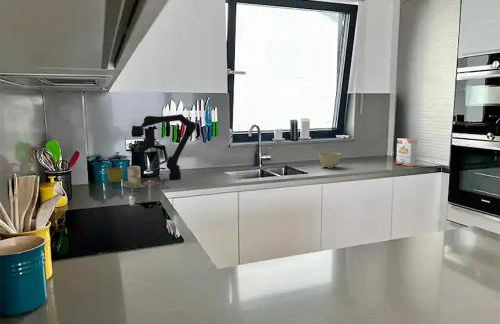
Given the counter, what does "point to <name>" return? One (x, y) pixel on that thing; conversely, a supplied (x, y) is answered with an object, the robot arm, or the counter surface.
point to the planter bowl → (329, 159)
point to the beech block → (134, 175)
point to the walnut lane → (132, 185)
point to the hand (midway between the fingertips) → (150, 162)
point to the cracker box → (406, 151)
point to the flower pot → (114, 174)
